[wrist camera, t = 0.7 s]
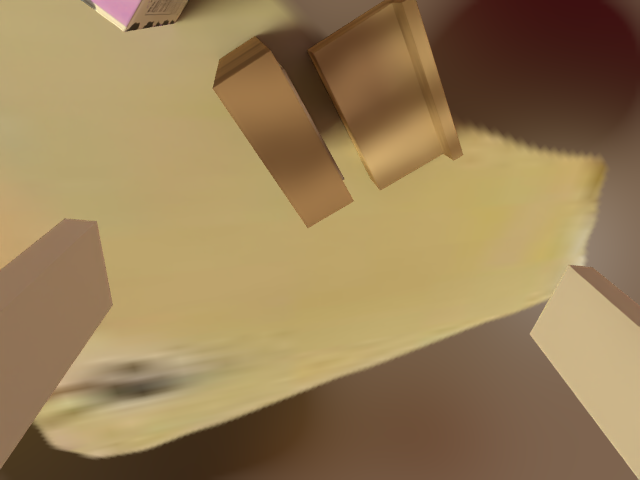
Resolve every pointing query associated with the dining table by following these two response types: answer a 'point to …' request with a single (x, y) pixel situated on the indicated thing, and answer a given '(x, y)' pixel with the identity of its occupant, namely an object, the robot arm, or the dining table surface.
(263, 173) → the dining table surface
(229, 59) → the wooden block
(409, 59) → the ledge
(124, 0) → the candy box
